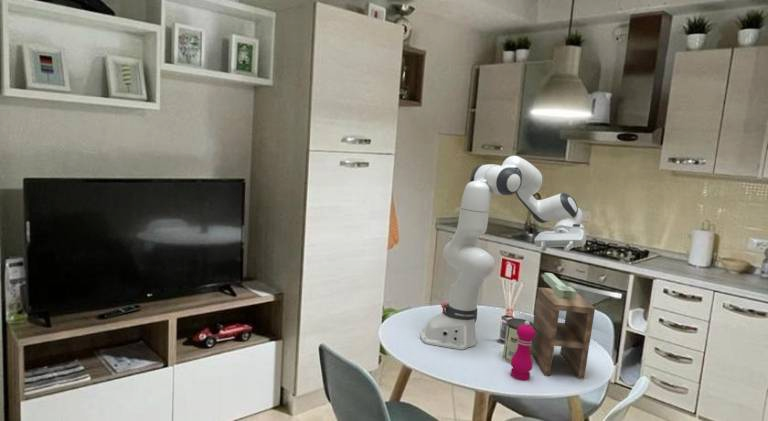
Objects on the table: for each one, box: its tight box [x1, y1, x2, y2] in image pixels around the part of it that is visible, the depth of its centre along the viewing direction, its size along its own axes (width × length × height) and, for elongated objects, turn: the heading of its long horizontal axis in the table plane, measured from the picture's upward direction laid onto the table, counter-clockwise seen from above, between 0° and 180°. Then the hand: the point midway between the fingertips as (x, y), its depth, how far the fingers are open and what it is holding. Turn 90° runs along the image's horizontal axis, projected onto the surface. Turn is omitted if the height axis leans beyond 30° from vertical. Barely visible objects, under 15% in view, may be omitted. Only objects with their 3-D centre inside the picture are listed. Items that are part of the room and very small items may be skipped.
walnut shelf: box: [531, 287, 596, 380], centre depth 188 cm, size 14×20×26 cm
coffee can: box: [502, 318, 535, 364], centre depth 191 cm, size 10×10×14 cm
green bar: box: [543, 272, 577, 300], centre depth 196 cm, size 6×24×3 cm, turn 179°
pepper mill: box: [510, 320, 535, 381], centre depth 177 cm, size 7×7×20 cm
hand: (554, 249), depth 207 cm, fingers open, 8 cm apart
